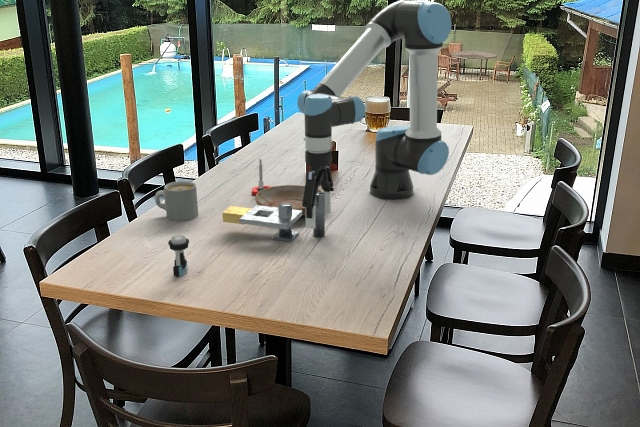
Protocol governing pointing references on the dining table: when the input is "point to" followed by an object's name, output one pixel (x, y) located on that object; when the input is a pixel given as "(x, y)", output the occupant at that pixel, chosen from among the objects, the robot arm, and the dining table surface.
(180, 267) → the push button
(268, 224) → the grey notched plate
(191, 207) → the coffee mug
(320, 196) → the pin
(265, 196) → the ceramic bowl
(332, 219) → the dining table surface
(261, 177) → the tow hook
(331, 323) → the dining table surface
